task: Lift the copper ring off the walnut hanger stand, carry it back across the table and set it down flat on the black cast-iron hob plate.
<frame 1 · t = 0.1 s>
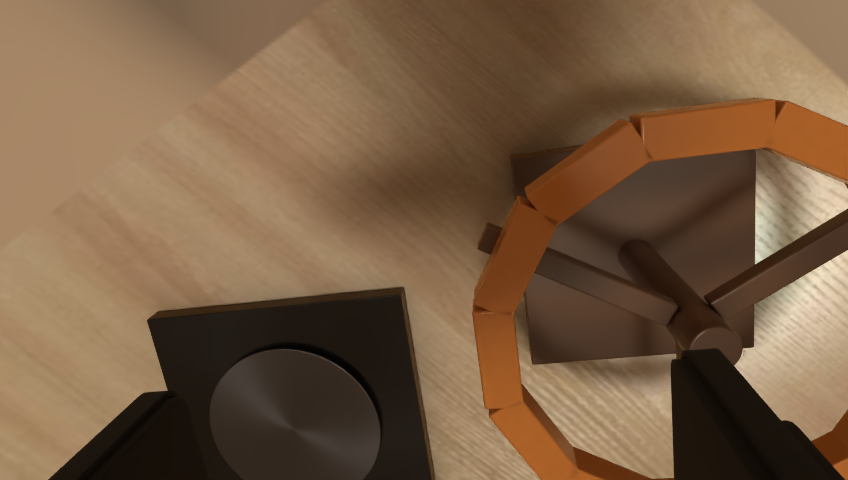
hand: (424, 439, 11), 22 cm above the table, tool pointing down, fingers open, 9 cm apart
hanger stand: (628, 247, 31), on the table
hob: (302, 413, 37), on the table
ring: (695, 326, 21), point 10 cm above the table, touching hanger stand
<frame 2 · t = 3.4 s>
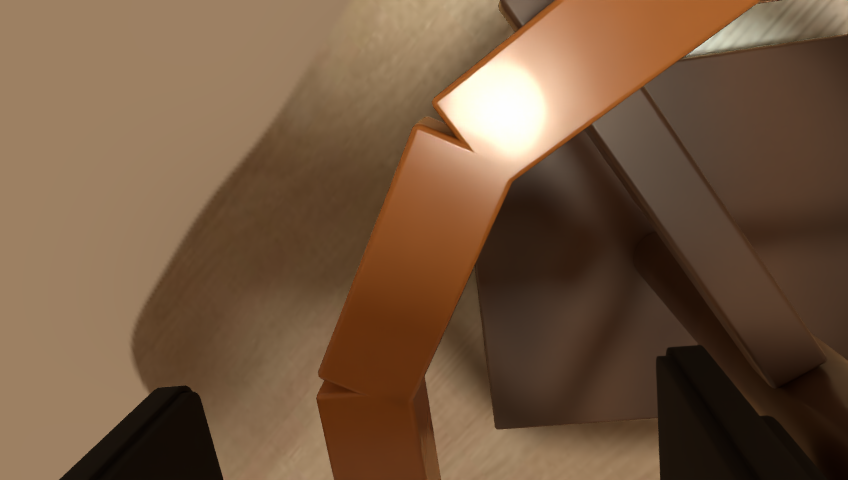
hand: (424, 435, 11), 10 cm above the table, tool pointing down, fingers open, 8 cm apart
hanger stand: (648, 243, 19), on the table
ring: (830, 416, 9), point 10 cm above the table, touching hanger stand
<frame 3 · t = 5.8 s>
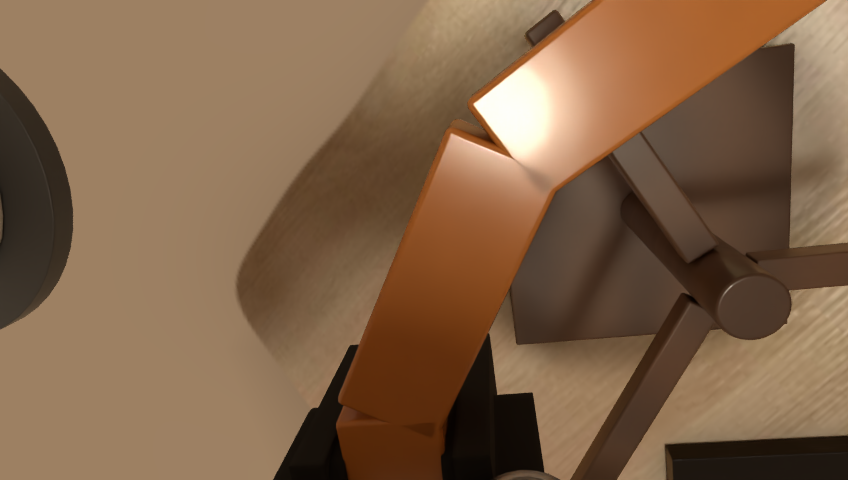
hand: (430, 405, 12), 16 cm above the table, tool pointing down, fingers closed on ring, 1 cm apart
hanger stand: (633, 202, 26), on the table
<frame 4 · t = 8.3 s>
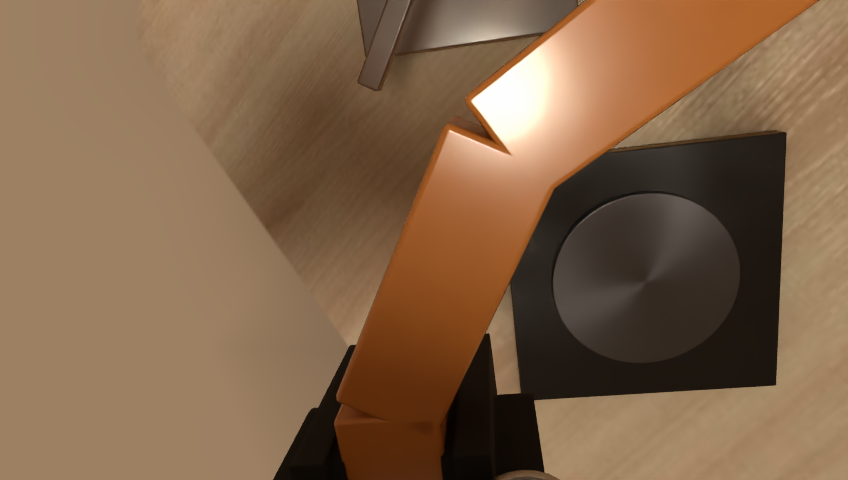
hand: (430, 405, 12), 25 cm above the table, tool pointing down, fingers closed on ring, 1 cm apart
hob: (637, 272, 36), on the table
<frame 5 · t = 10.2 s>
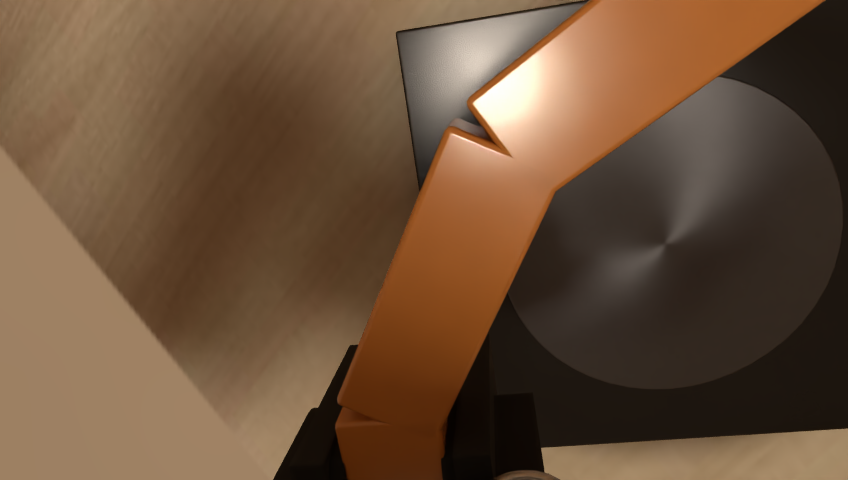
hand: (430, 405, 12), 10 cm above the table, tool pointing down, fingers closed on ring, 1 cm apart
hob: (650, 230, 20), on the table
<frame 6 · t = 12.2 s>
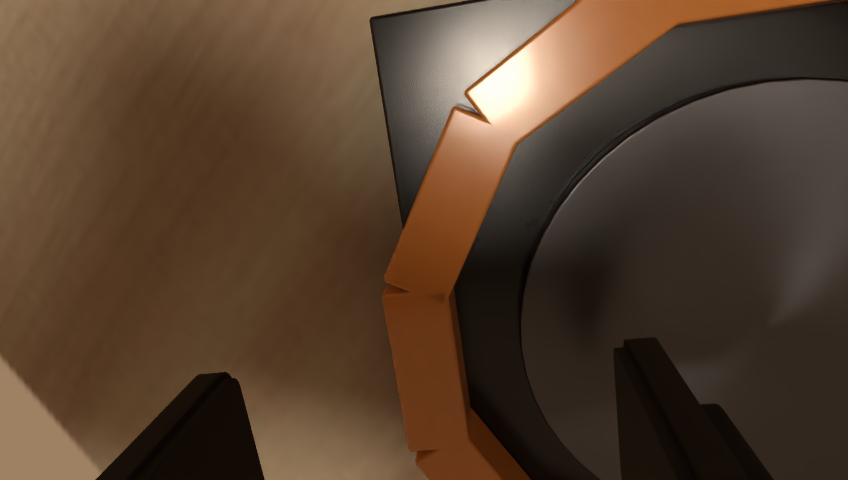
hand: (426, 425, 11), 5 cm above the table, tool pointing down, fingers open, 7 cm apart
hob: (732, 300, 14), on the table
ring: (745, 318, 13), point 1 cm above the table, touching hob
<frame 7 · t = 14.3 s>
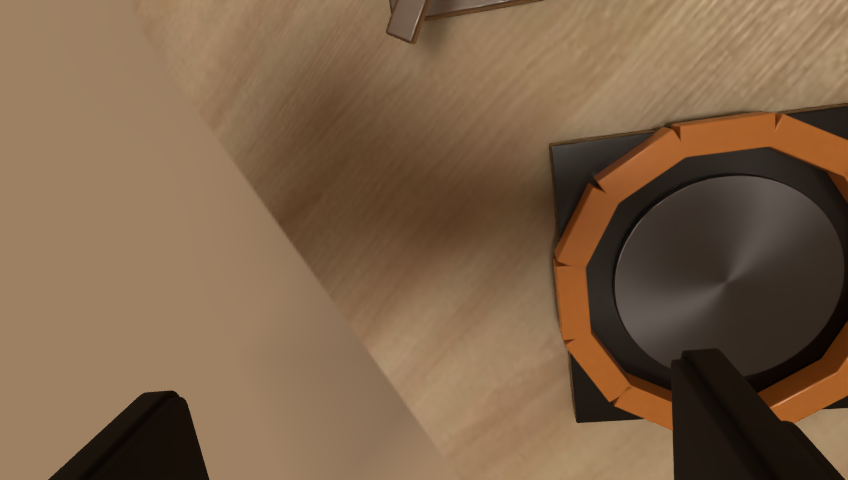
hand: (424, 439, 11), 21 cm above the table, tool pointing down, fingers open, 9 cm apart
hob: (713, 271, 30), on the table
ring: (718, 278, 29), point 1 cm above the table, touching hob
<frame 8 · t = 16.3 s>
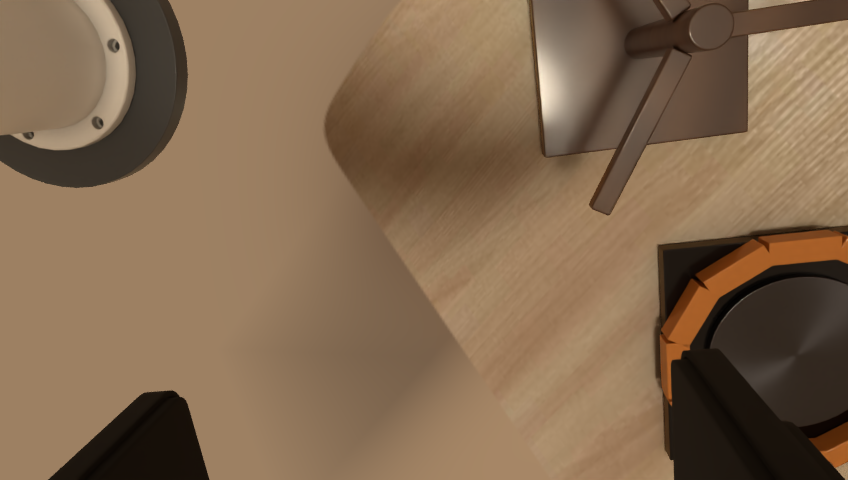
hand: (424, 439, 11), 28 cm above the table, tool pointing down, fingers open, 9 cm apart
hanger stand: (633, 44, 34), on the table
hob: (783, 343, 38), on the table
ring: (789, 351, 37), point 1 cm above the table, touching hob
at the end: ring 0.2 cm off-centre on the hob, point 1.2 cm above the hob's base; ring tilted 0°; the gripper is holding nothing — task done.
